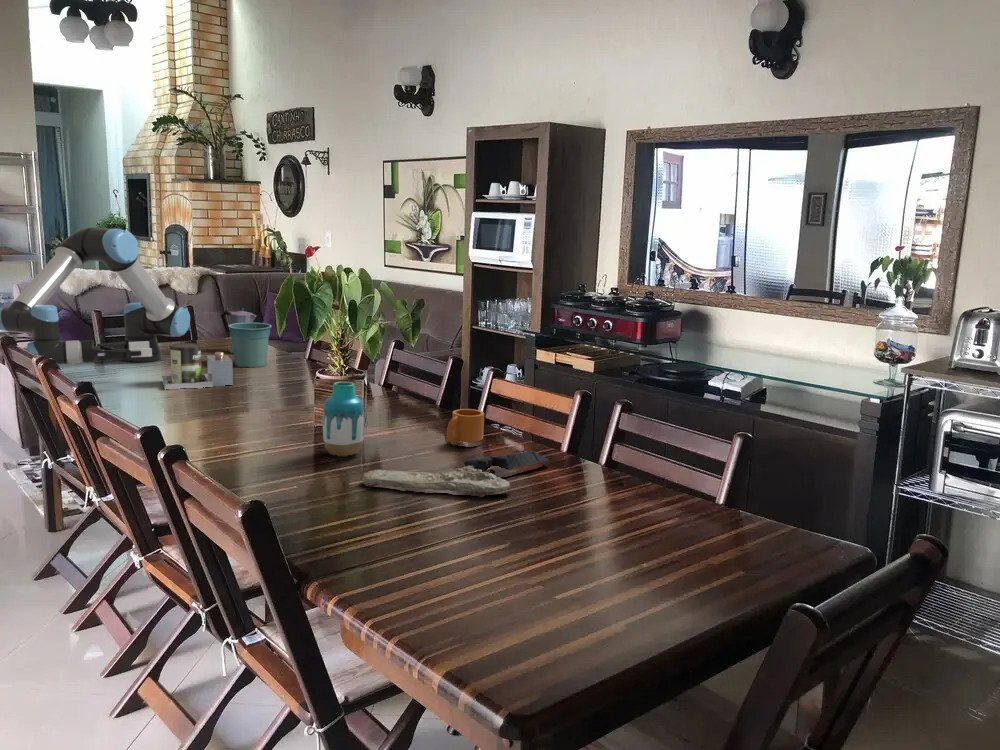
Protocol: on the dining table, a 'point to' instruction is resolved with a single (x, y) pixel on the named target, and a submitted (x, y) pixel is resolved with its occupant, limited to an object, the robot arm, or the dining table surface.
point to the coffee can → (185, 362)
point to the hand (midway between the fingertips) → (150, 348)
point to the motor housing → (217, 374)
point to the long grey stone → (440, 480)
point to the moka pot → (237, 320)
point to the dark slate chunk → (507, 461)
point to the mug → (466, 426)
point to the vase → (343, 421)
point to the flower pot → (250, 343)
